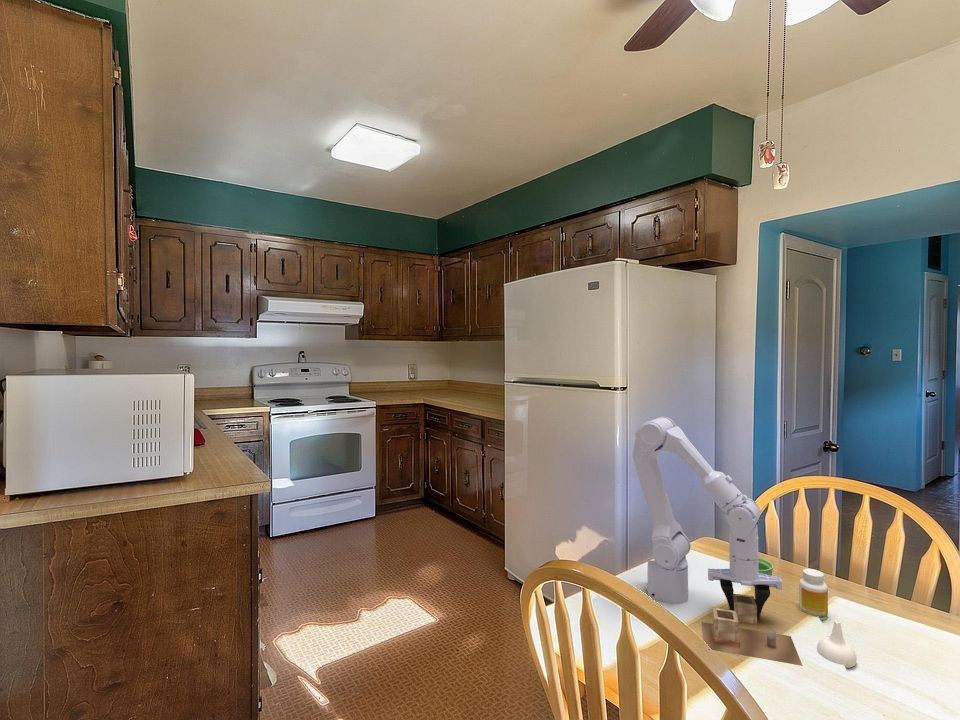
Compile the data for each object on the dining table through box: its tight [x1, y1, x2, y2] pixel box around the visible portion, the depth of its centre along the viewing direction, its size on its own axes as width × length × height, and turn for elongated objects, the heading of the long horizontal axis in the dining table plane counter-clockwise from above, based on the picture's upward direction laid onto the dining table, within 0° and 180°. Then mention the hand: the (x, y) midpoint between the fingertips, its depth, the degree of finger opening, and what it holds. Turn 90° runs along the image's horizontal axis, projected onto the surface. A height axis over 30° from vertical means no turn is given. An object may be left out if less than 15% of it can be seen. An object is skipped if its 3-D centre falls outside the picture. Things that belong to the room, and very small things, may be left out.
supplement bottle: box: [798, 568, 829, 621], centre depth 114 cm, size 5×5×10 cm
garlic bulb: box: [816, 619, 858, 669], centre depth 98 cm, size 6×6×8 cm
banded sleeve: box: [733, 592, 759, 626], centre depth 112 cm, size 5×5×5 cm
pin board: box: [701, 621, 803, 666], centre depth 103 cm, size 17×10×4 cm, turn 69°
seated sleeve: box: [711, 607, 740, 647], centre depth 104 cm, size 5×5×5 cm
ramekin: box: [758, 556, 774, 576], centre depth 131 cm, size 9×9×4 cm
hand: (744, 615), depth 112 cm, fingers closed on banded sleeve, 4 cm apart
